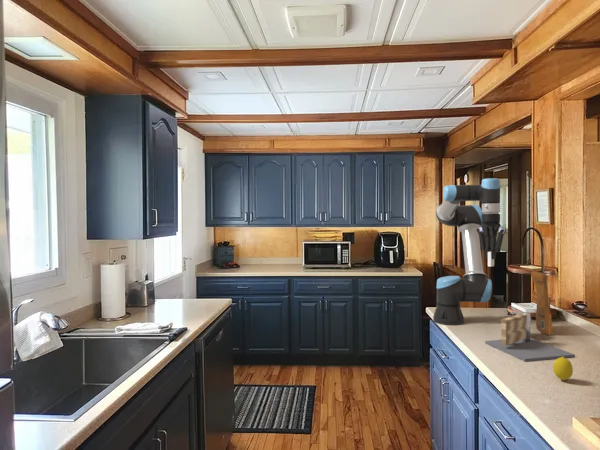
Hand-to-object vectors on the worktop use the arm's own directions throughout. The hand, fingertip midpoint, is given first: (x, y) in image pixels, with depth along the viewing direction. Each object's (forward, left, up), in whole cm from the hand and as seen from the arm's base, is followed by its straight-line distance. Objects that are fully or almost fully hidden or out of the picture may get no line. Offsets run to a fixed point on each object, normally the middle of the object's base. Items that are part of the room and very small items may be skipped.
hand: (490, 266), depth 192 cm
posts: (+11, +5, -32) cm, 34 cm away
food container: (+2, +15, -33) cm, 36 cm away
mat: (+18, +4, -32) cm, 37 cm away
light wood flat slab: (+14, +1, -30) cm, 33 cm away
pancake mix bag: (-5, +31, -33) cm, 45 cm away
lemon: (+49, -8, -33) cm, 59 cm away
